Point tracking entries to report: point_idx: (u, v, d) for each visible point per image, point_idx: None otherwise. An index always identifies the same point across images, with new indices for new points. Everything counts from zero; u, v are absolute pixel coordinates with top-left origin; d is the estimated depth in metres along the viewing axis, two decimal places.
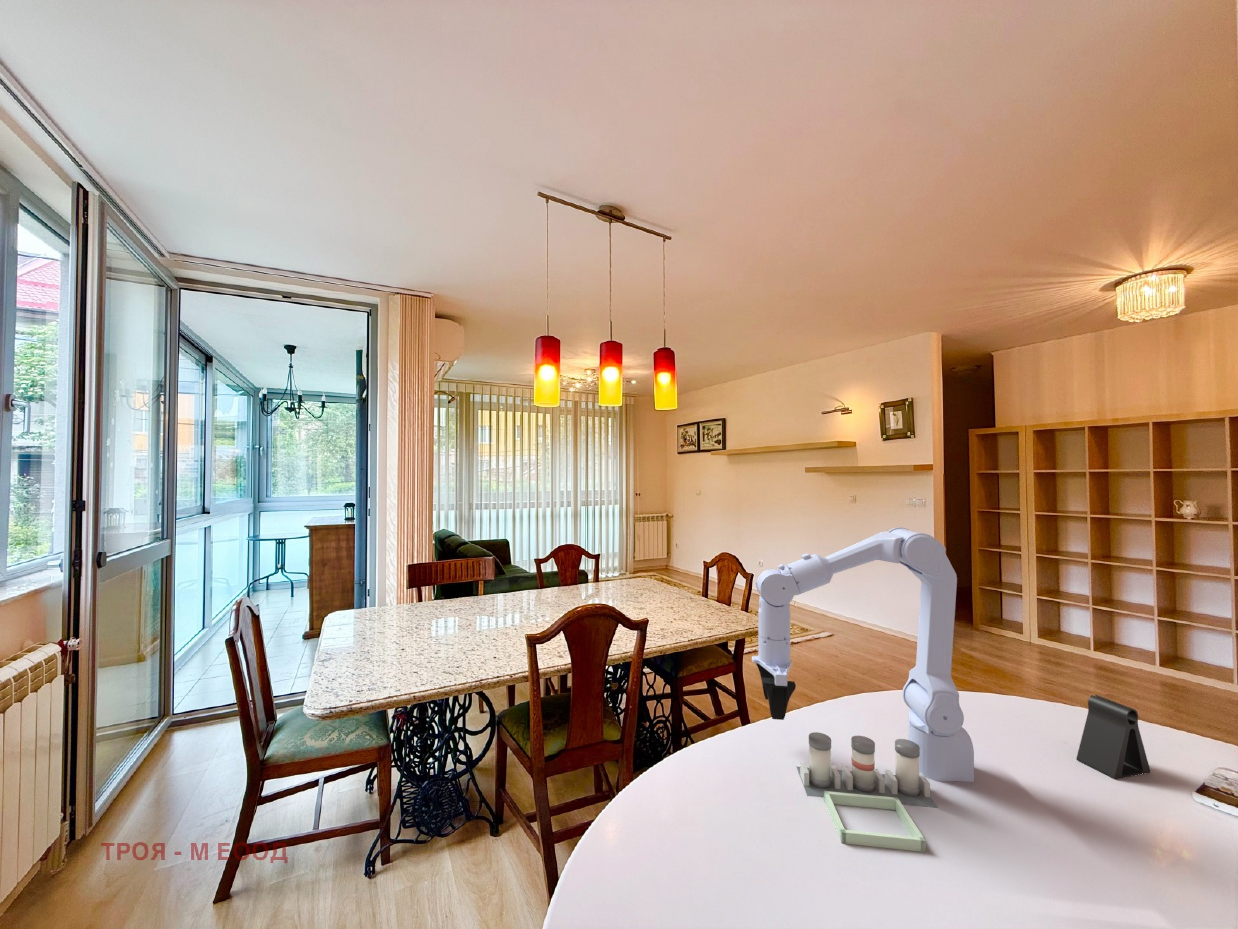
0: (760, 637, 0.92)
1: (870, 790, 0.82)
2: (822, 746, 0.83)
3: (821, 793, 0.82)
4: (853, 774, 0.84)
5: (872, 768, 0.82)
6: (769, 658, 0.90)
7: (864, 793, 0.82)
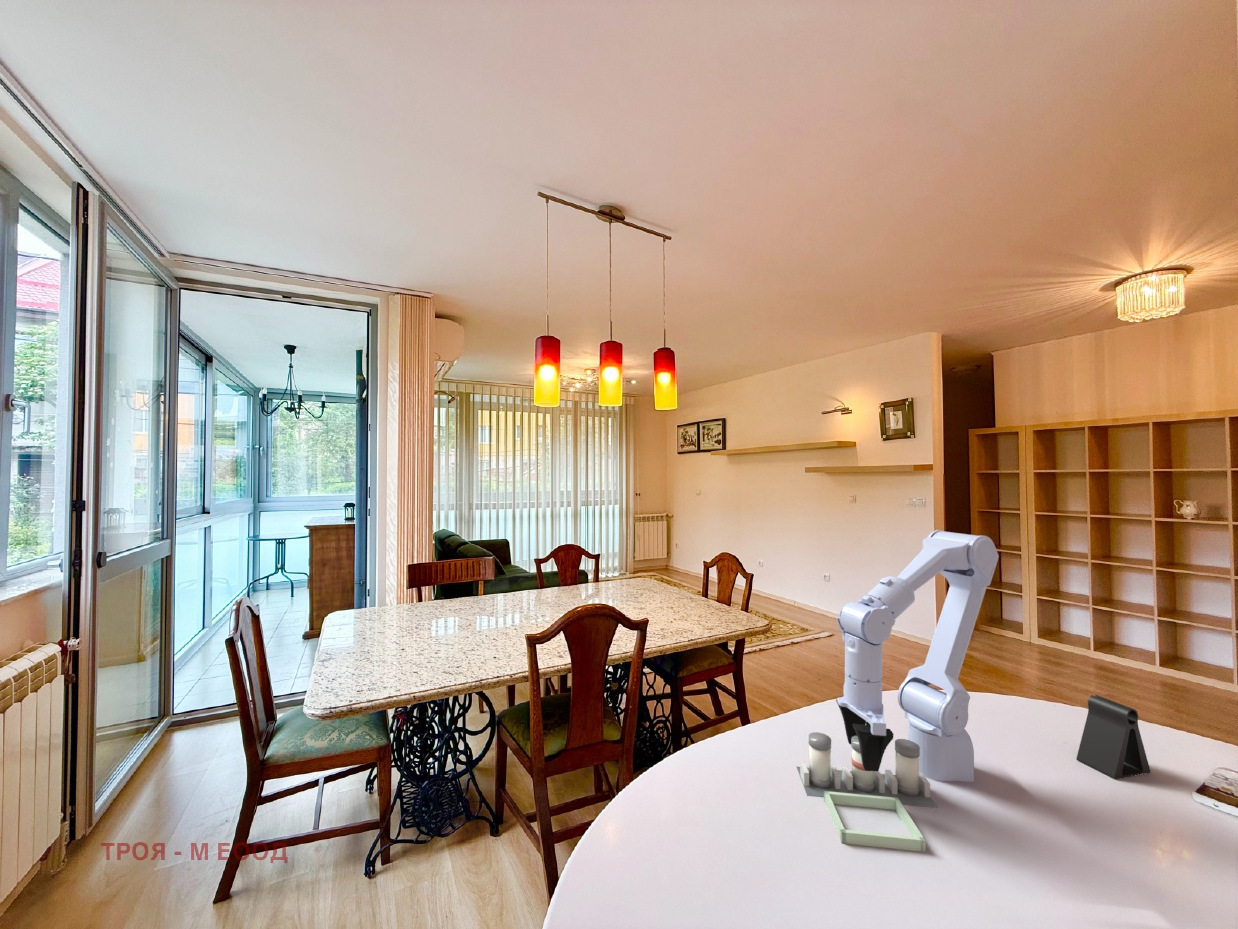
0: (848, 678, 0.83)
1: (870, 790, 0.82)
2: (822, 746, 0.83)
3: (821, 793, 0.82)
4: (853, 774, 0.84)
5: None
6: (860, 702, 0.82)
7: (864, 793, 0.82)
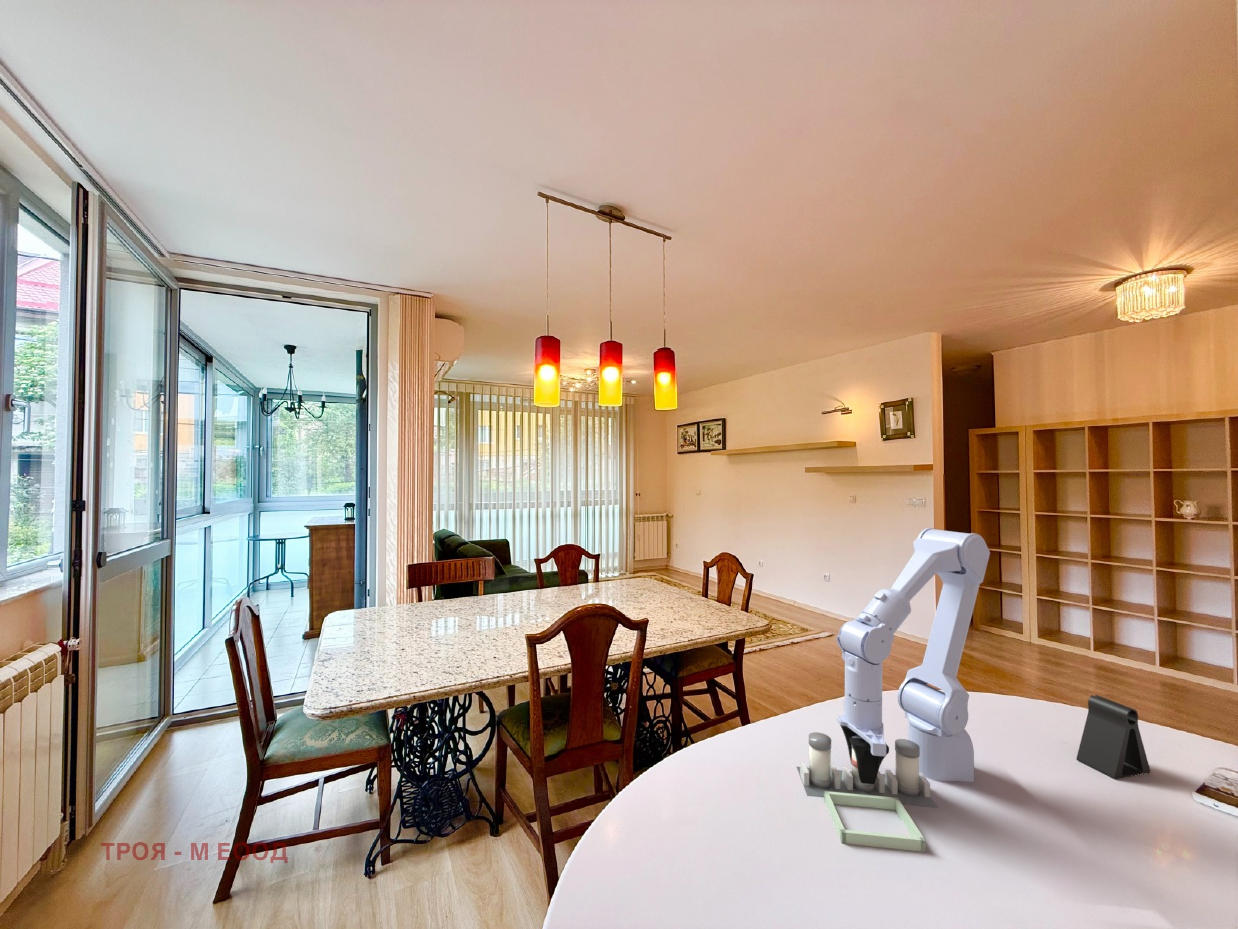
0: (848, 697, 0.83)
1: (870, 790, 0.82)
2: (822, 746, 0.83)
3: (821, 793, 0.82)
4: (853, 774, 0.84)
5: None
6: (860, 721, 0.82)
7: (864, 793, 0.82)
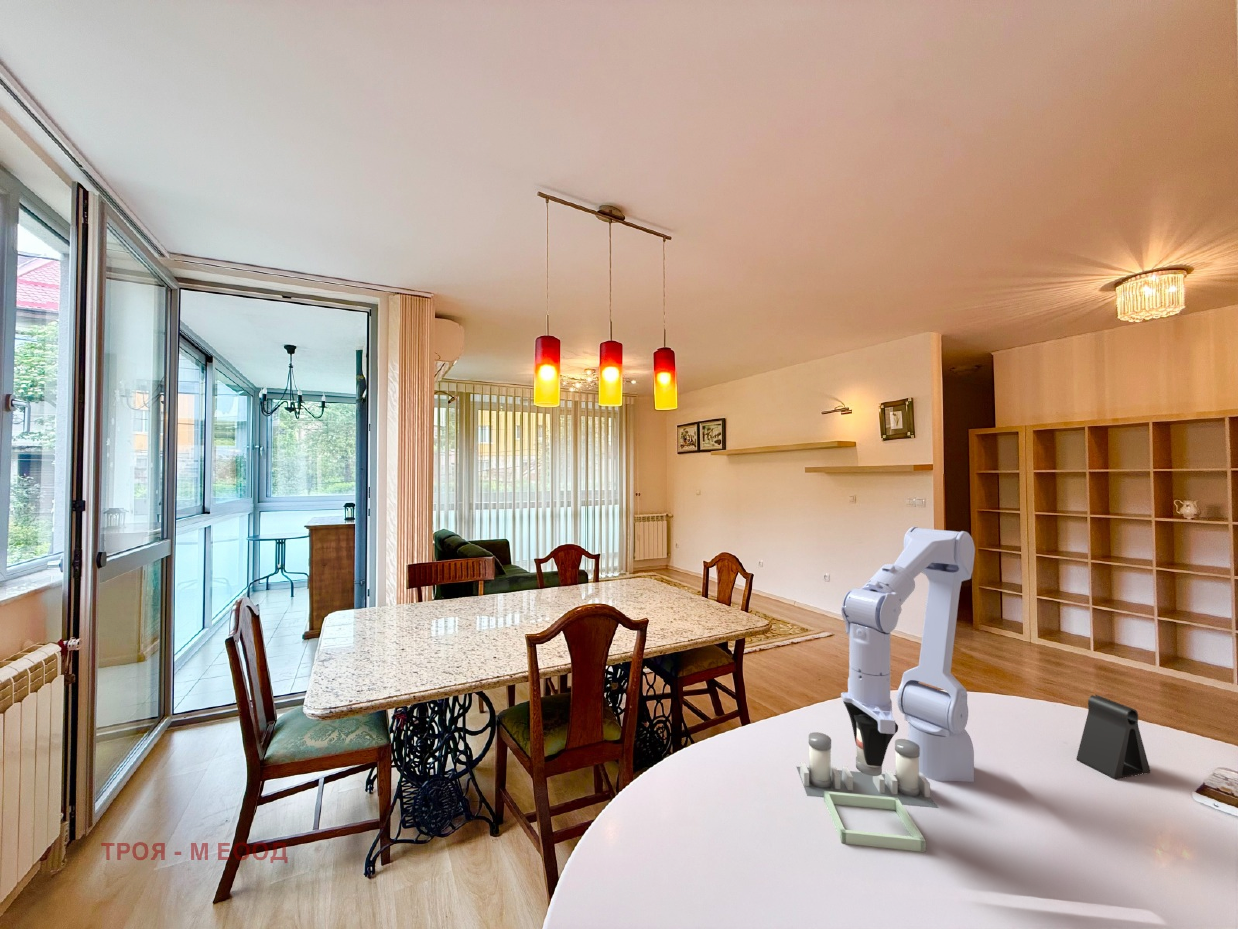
0: (853, 671, 0.76)
1: (876, 773, 0.75)
2: (822, 746, 0.83)
3: (821, 793, 0.82)
4: (858, 756, 0.76)
5: None
6: (866, 697, 0.74)
7: (864, 793, 0.82)
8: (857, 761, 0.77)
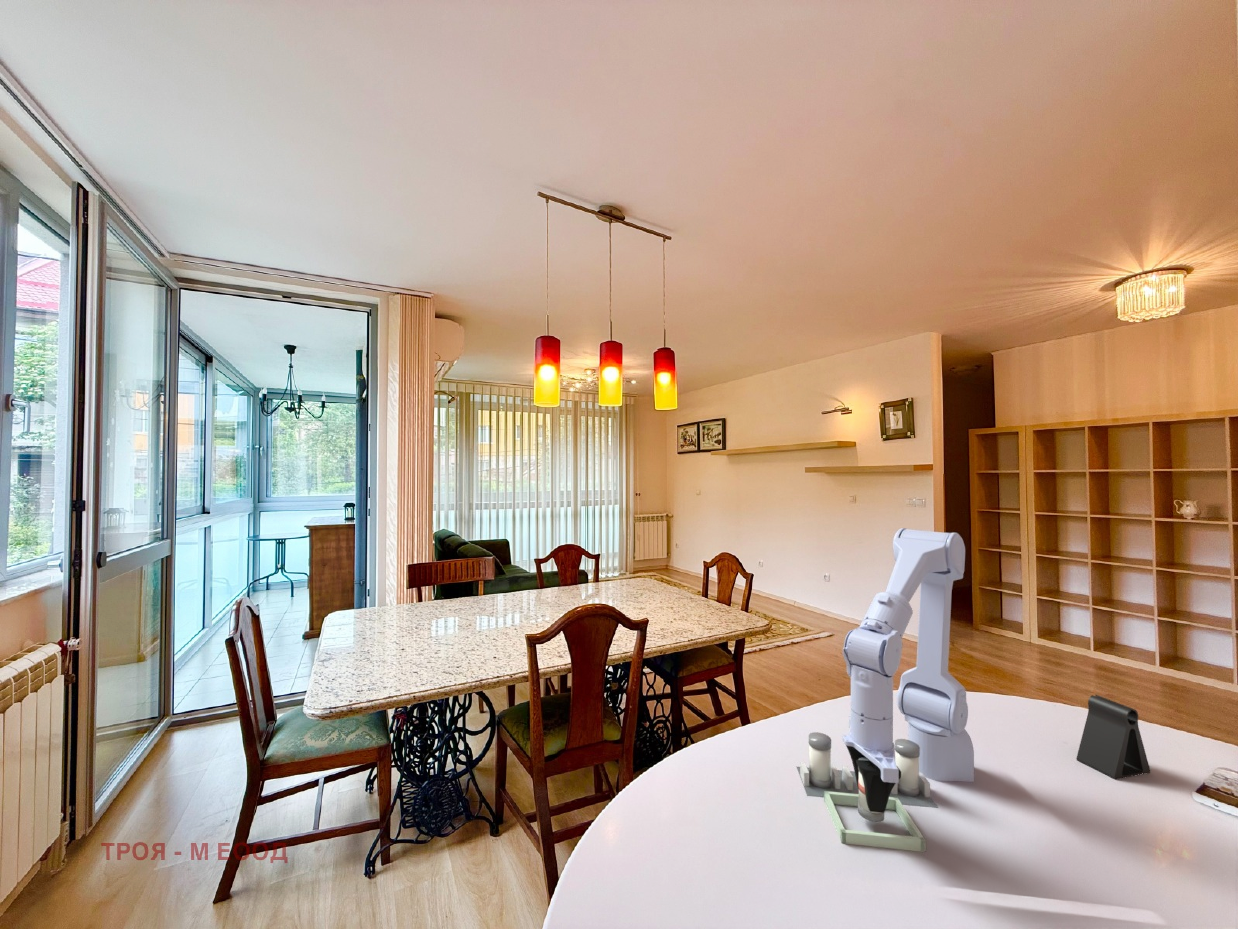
0: (855, 714, 0.74)
1: (879, 819, 0.73)
2: (822, 746, 0.83)
3: (821, 793, 0.82)
4: (860, 801, 0.75)
5: None
6: (869, 742, 0.73)
7: None
8: (859, 806, 0.75)
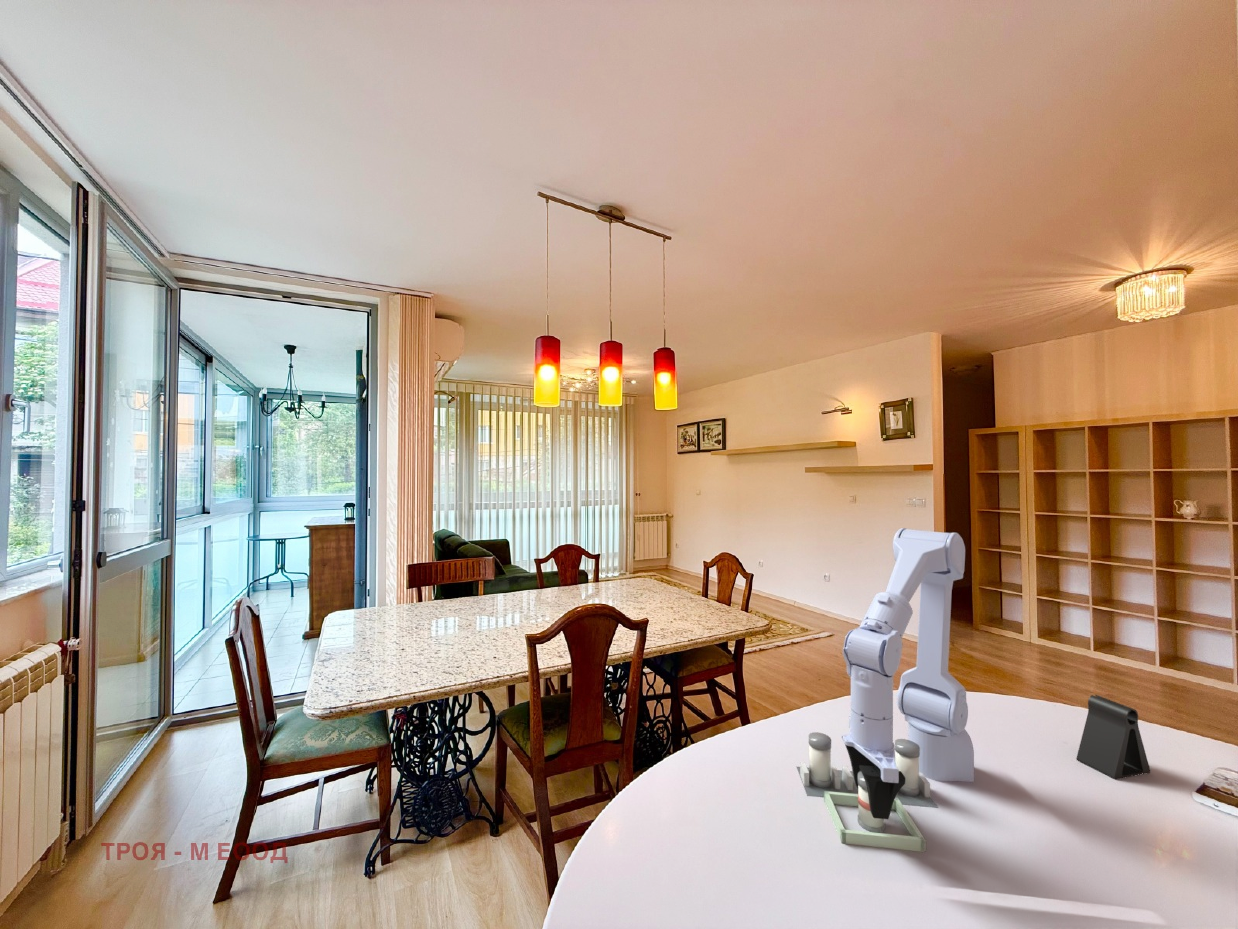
0: (855, 714, 0.74)
1: None
2: (822, 746, 0.83)
3: (821, 793, 0.82)
4: (860, 815, 0.75)
5: None
6: (869, 742, 0.73)
7: None
8: (859, 820, 0.75)
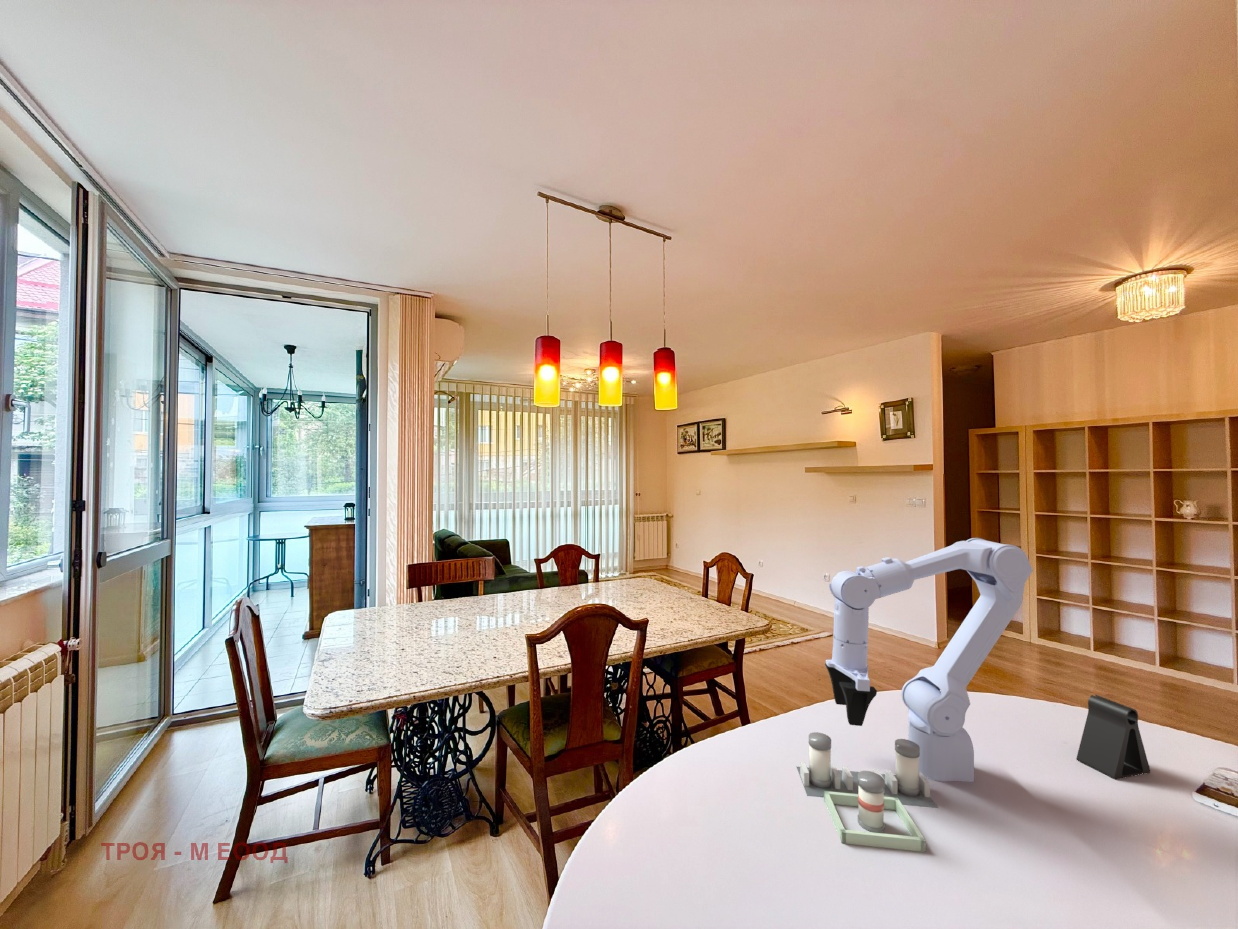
0: (836, 640, 0.89)
1: None
2: (822, 746, 0.83)
3: (821, 793, 0.82)
4: (860, 815, 0.75)
5: (881, 809, 0.73)
6: (847, 662, 0.88)
7: None
8: (859, 820, 0.75)
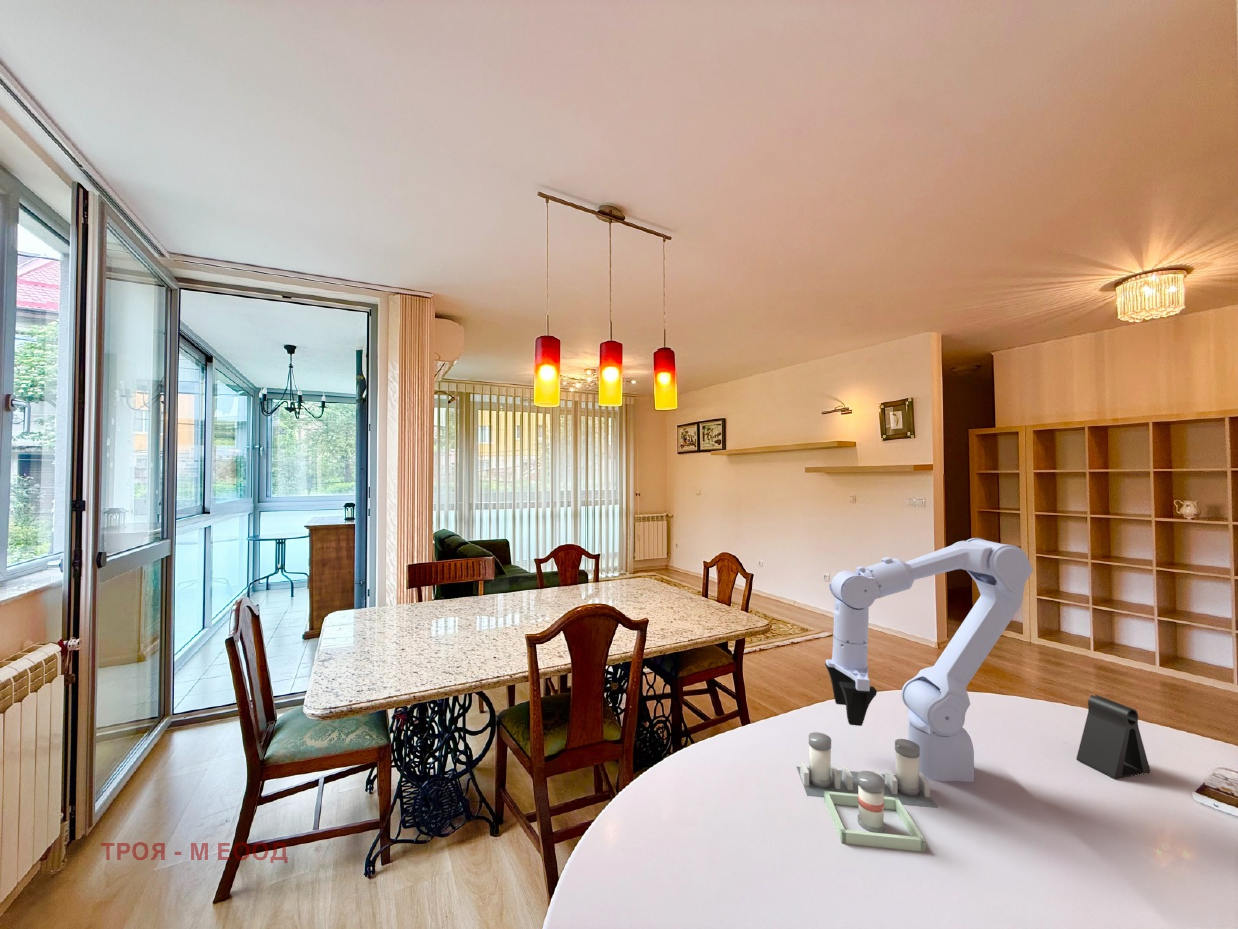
0: (836, 640, 0.89)
1: None
2: (822, 746, 0.83)
3: (821, 793, 0.82)
4: (860, 815, 0.75)
5: (881, 809, 0.73)
6: (847, 662, 0.88)
7: None
8: (859, 820, 0.75)
